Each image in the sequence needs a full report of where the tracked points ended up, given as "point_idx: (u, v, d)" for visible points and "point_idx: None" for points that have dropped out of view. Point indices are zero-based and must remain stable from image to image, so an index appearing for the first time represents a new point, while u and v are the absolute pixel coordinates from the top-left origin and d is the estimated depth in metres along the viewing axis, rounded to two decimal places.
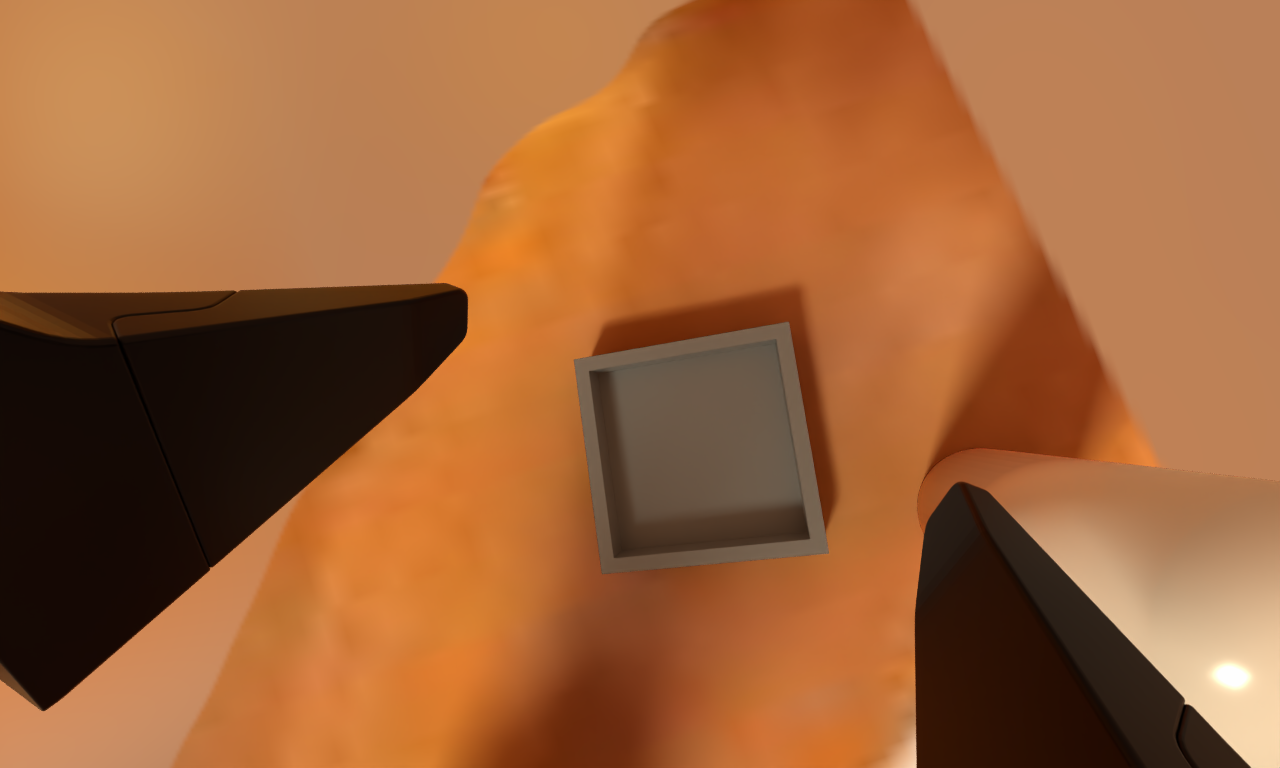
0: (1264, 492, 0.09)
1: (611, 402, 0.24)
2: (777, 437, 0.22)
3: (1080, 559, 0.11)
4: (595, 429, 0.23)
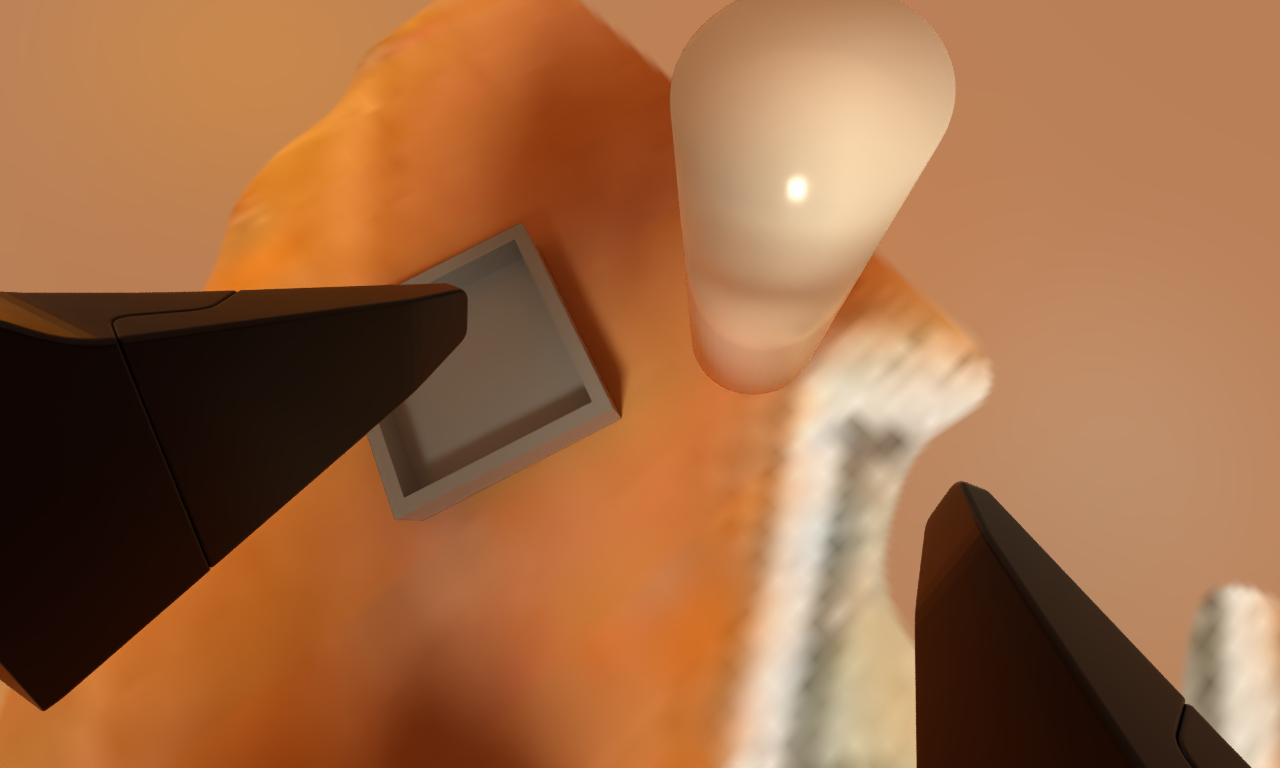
0: (723, 10, 0.10)
1: None
2: (549, 334, 0.23)
3: (676, 175, 0.12)
4: None
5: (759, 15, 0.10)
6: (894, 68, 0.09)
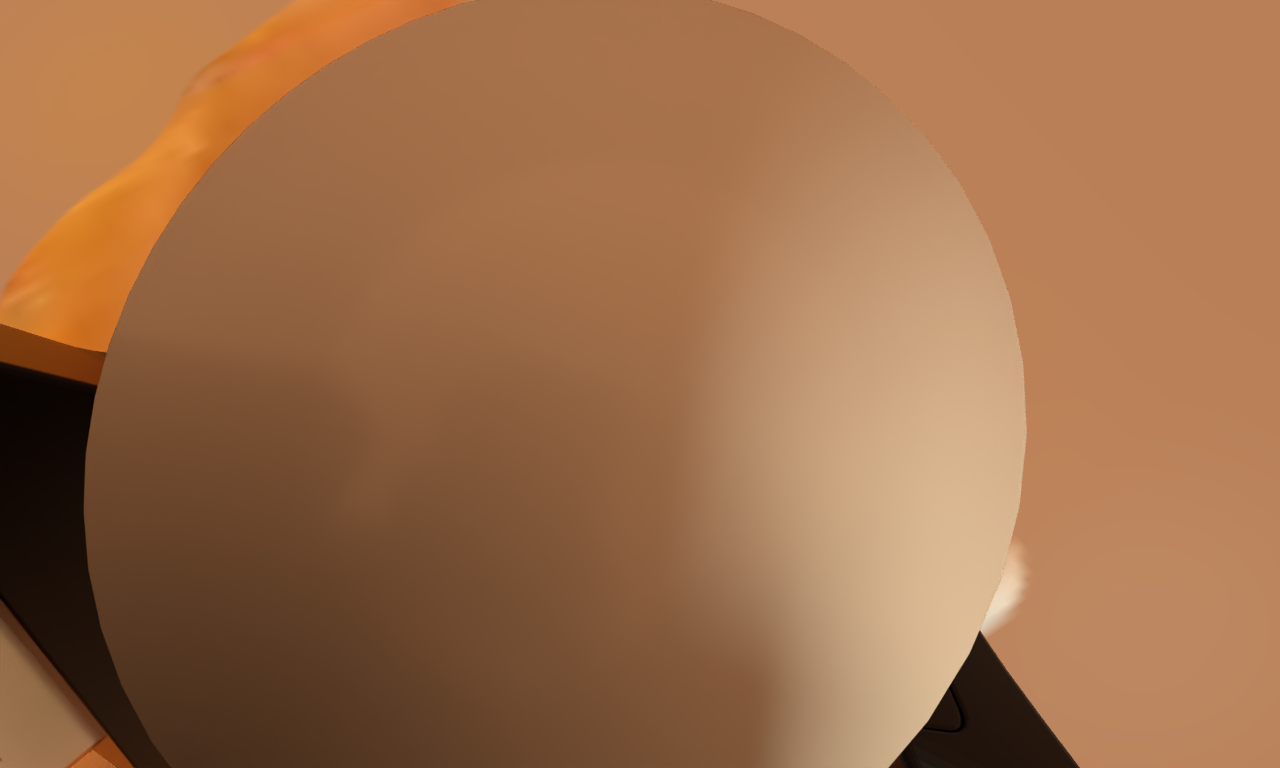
0: (325, 73, 0.04)
1: None
2: None
3: None
4: None
5: (411, 91, 0.03)
6: (802, 300, 0.03)
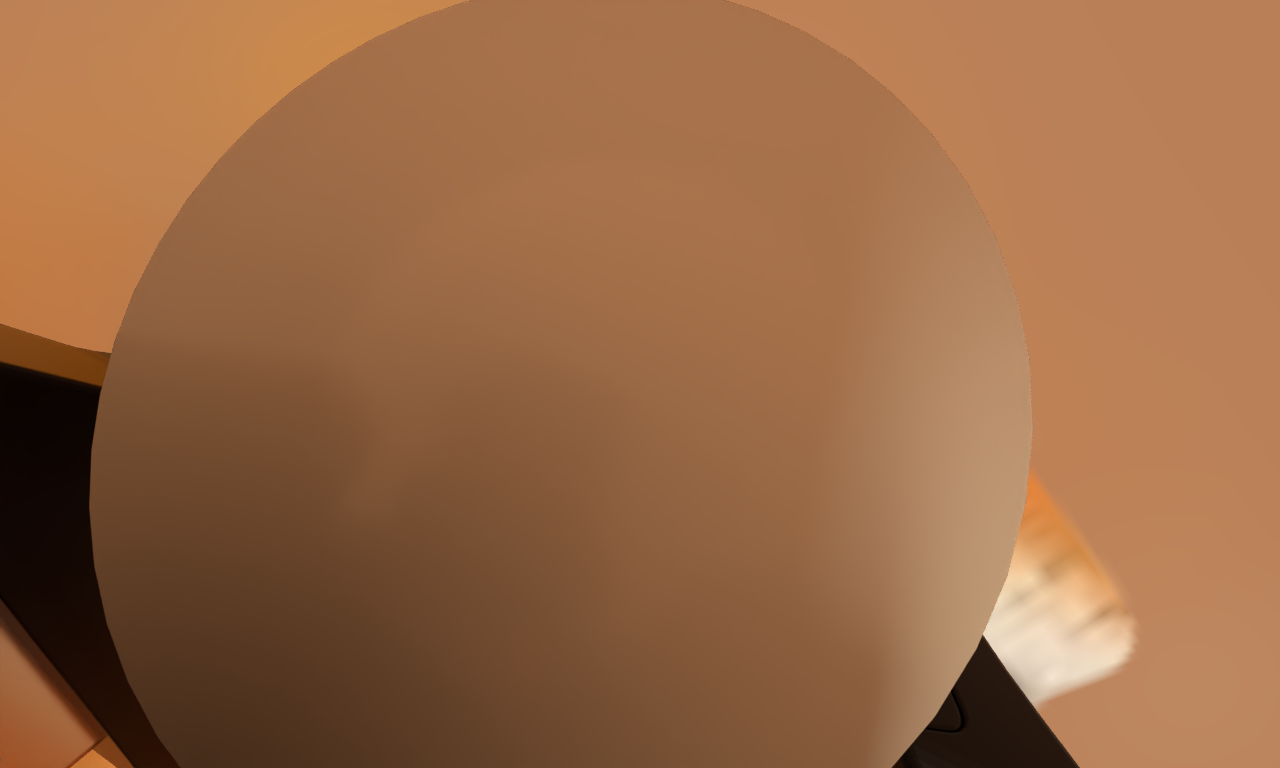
0: (329, 71, 0.04)
1: None
2: None
3: None
4: None
5: (416, 88, 0.03)
6: (807, 296, 0.03)
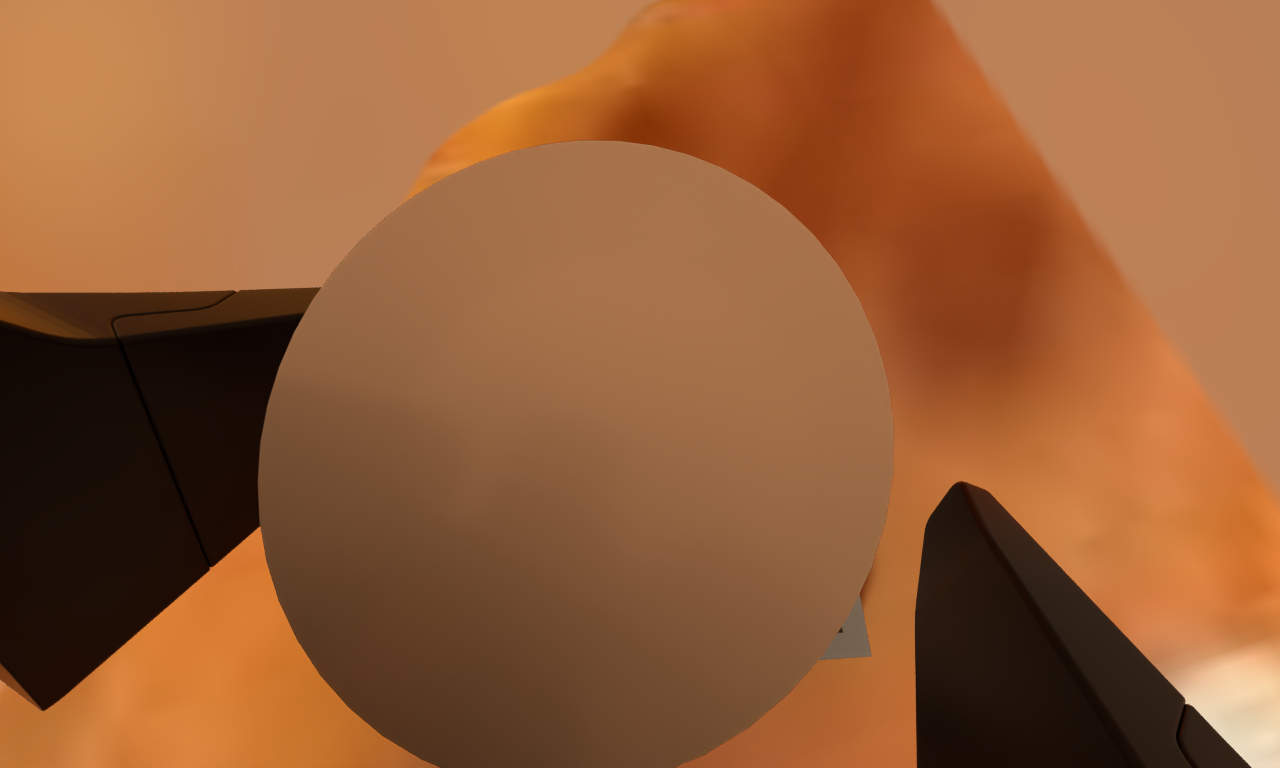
0: (412, 201, 0.05)
1: None
2: None
3: None
4: None
5: (477, 219, 0.05)
6: (750, 380, 0.04)
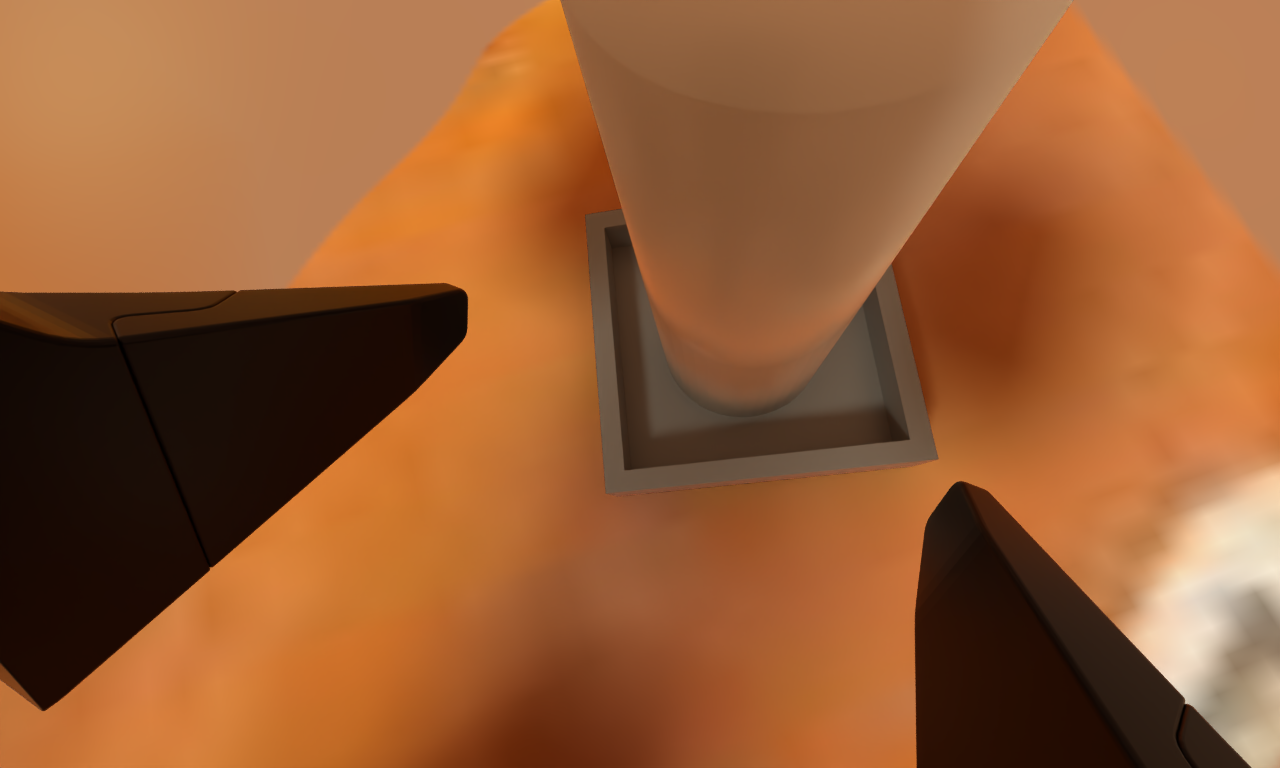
0: None
1: (627, 282, 0.18)
2: (849, 324, 0.17)
3: None
4: (608, 298, 0.17)
5: None
6: None
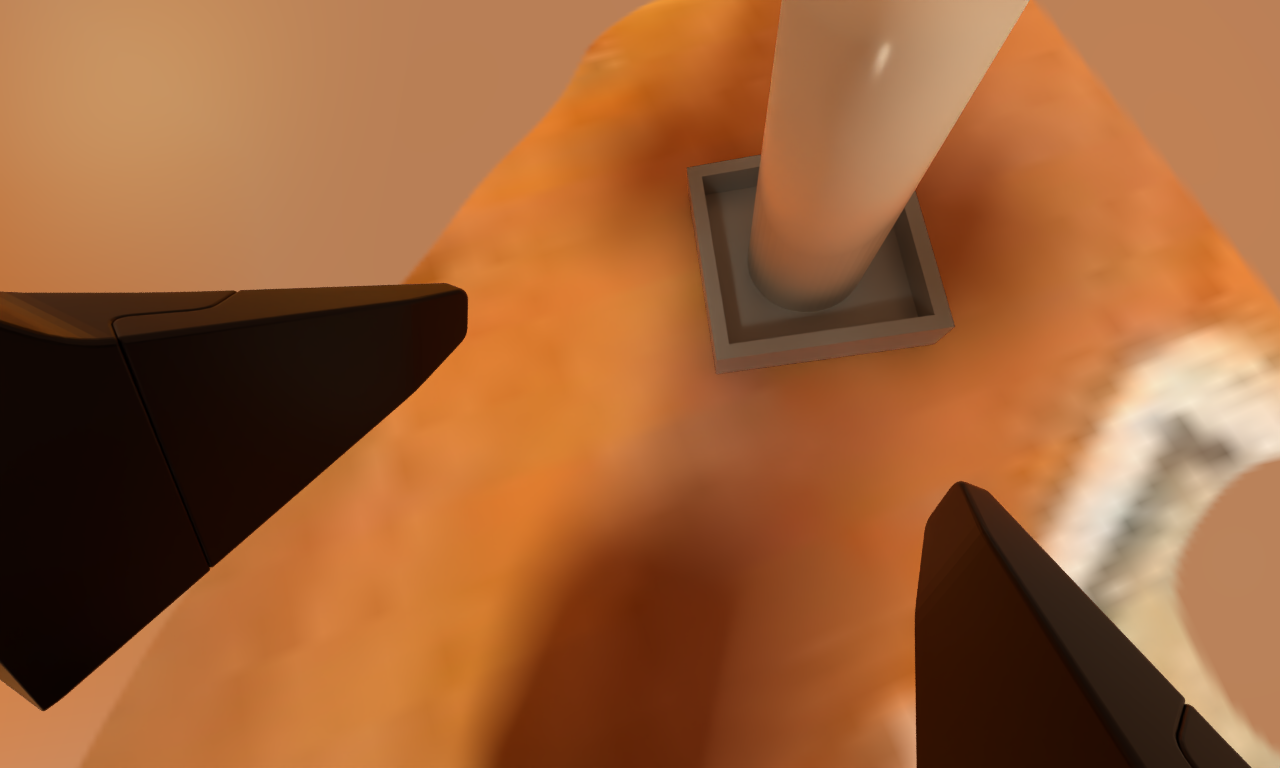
0: None
1: (716, 219, 0.24)
2: (885, 244, 0.23)
3: (776, 58, 0.13)
4: (709, 226, 0.23)
5: None
6: None
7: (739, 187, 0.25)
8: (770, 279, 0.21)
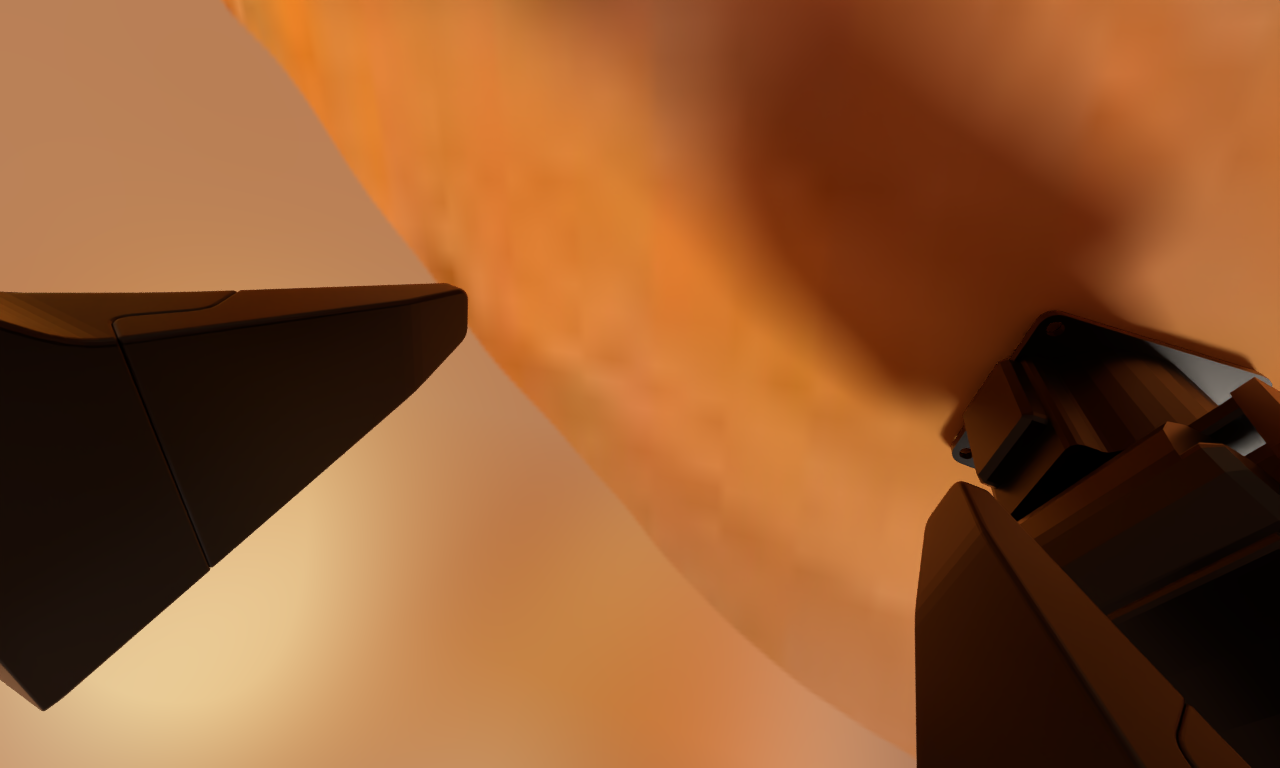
0: None
1: None
2: None
3: None
4: None
5: None
6: None
7: None
8: None
